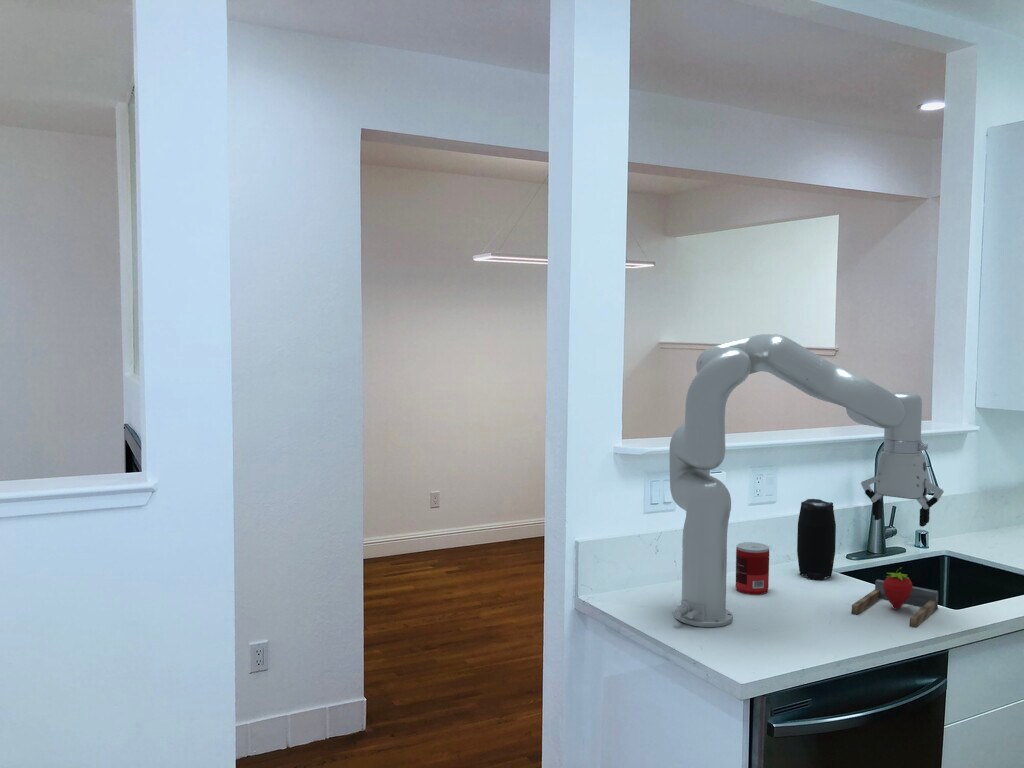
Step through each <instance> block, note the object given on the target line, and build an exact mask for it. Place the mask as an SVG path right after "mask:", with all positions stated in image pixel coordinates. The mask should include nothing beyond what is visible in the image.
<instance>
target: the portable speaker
mask: <svg viewBox="0 0 1024 768" xmlns="http://www.w3.org/2000/svg"><path fill="white" fill-rule="evenodd" d="M834 506H835V505H834V502H830V501H825V500H823V499H820V498H807V499H806V500H803V501H801V503H800V509H799V514H798V520H797V532H796V533H797V540H796V553H797V562H798V563H797V564H798V572H799V575H805V576H806V578H808V579H809V580H812V581H825V579H826V578H832V574H833V569H834V563H835V562H834V561H835V557H836V556H835V555H836V540H837V539H836V538H837V537H836V533H837V532H836V531H837V530H836V529H837V524H836V517H835V510H834V508H835V507H834Z"/></svg>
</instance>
